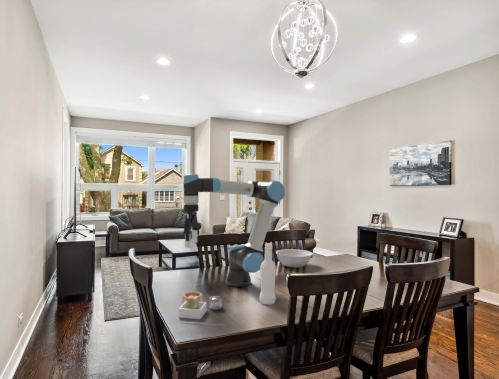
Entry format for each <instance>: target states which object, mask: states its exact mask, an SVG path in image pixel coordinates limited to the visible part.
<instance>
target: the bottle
mask: <svg viewBox="0 0 499 379" xmlns="http://www.w3.org/2000/svg"><path fill="white" fill-rule="evenodd" d="M264 246H265V247H264V261H263V262H262V264H261V267H260V270H259V271H260V293H259V302H260V304H262V305H265V306H271V305H274V304H275V303H276V292H275V288H276V287H275V286H276V284H275V283H276V272H277V267H276V264H275V262H274V261H273V244H272V243H270V242H269V243H265V244H264Z"/></svg>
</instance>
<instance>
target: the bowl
mask: <svg viewBox="0 0 499 379" xmlns="http://www.w3.org/2000/svg"><path fill="white" fill-rule="evenodd" d="M275 253H276V256H277V259H278V260H279V262H280V263H281V264H282V265H283V266H285V267H288V268H294V269H295V268H302V267H305V266H306V265H308V264H309V262H310V261H311V259H312V256H313V254H314V253H313V252H311V251H309V250H305V249H298V248H297V249H295V248H294V249H291V248H290V249H289V248H286V249H279V250H275Z"/></svg>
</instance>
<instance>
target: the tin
mask: <svg viewBox="0 0 499 379" xmlns="http://www.w3.org/2000/svg"><path fill="white" fill-rule="evenodd" d="M222 300H223V297H222V296H220V295H211V296H209V297H208V308H209V309H210V310H213V311H214V310H215V311H217V310H220V309H222V307H223V306H222V305H223V301H222Z"/></svg>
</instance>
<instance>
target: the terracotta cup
mask: <svg viewBox="0 0 499 379" xmlns="http://www.w3.org/2000/svg"><path fill="white" fill-rule="evenodd" d="M190 295H191V296H199V302H203V293H201V292H199V291H188V292H184V293H183V294H182V297H181V298H182V300H181V301H182V302H181V303H182V304H181V306H182V305H183V304H184V302H185V301H187V298H188V297H189V296H190Z"/></svg>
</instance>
